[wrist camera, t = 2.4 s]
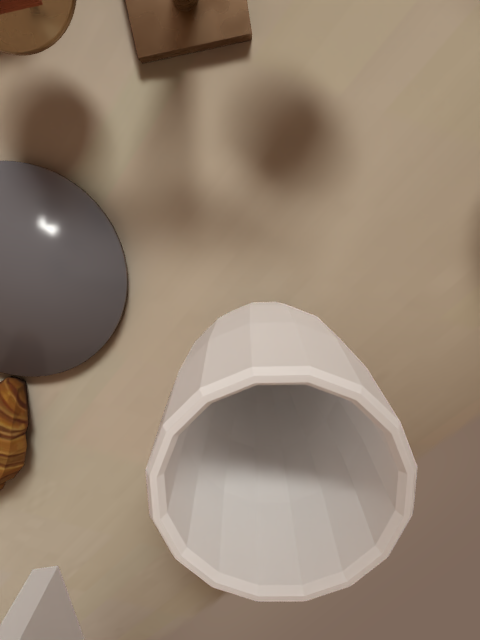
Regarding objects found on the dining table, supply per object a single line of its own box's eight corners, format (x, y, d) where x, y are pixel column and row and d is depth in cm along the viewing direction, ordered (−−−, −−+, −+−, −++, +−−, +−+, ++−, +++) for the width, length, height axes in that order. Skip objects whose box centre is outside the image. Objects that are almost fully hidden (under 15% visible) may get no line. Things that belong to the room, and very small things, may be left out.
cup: (214, 396, 38) (175, 634, 17) (184, 281, 35) (94, 391, 14) (333, 372, 37) (446, 590, 16) (311, 253, 34) (413, 326, 13)
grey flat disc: (-114, 185, 33) (-126, 185, 32) (98, 142, 32) (92, 139, 31) (-38, 386, 38) (-47, 391, 36) (151, 352, 37) (148, 357, 35)
